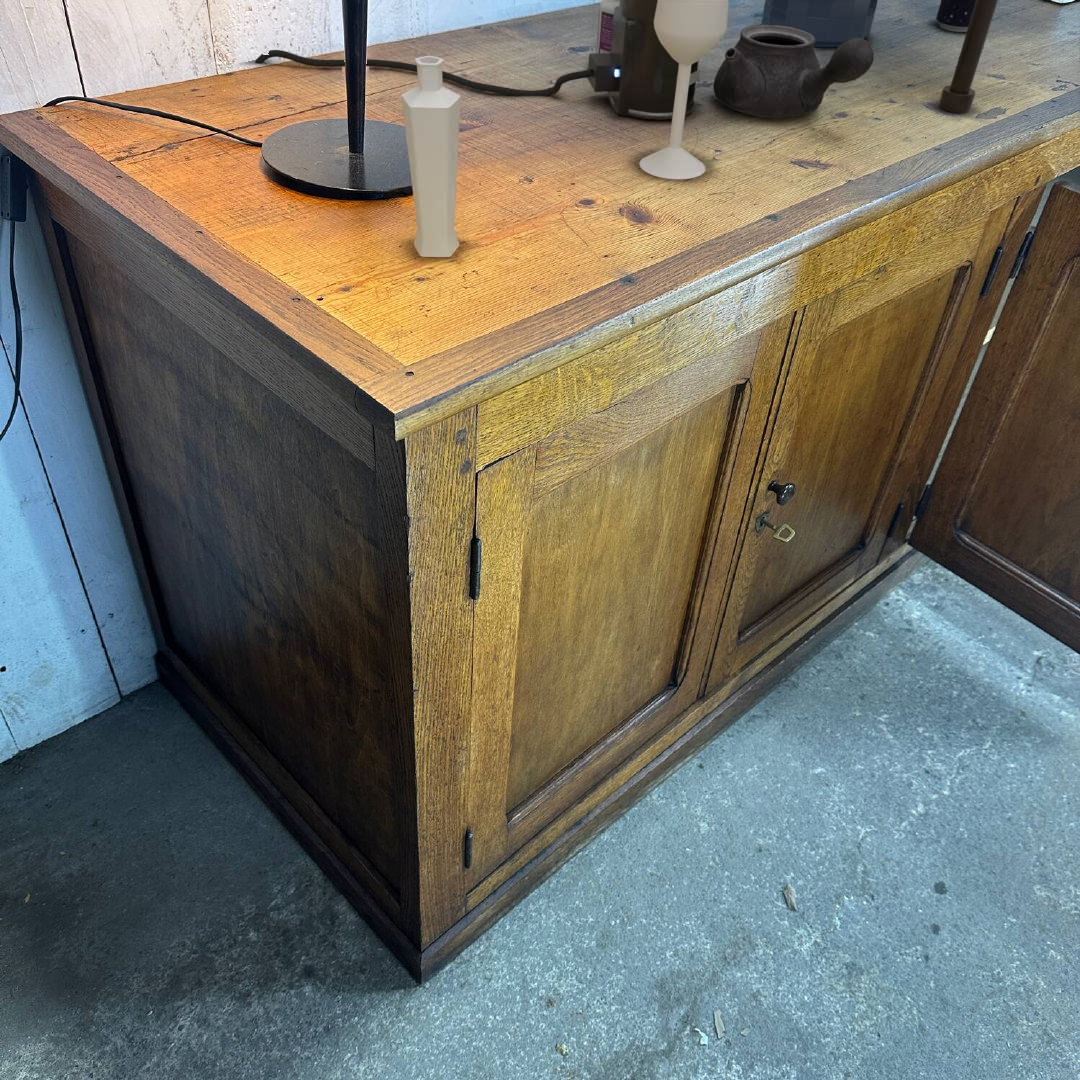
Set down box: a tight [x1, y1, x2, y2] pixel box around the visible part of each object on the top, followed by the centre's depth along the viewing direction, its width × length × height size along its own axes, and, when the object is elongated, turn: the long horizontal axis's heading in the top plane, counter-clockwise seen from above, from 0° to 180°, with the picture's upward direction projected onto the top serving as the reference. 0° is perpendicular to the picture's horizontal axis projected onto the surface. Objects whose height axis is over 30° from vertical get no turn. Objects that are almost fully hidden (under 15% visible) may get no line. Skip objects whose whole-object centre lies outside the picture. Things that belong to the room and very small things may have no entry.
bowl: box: [760, 0, 879, 48], centre depth 134 cm, size 15×15×6 cm
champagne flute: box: [638, 0, 730, 180], centre depth 91 cm, size 7×7×24 cm
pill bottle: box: [595, 0, 620, 53], centre depth 119 cm, size 5×5×10 cm
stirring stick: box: [937, 0, 999, 114], centre depth 110 cm, size 4×4×15 cm
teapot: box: [713, 24, 875, 119], centre depth 108 cm, size 19×15×10 cm
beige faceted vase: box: [400, 55, 462, 258], centre depth 79 cm, size 5×4×15 cm
